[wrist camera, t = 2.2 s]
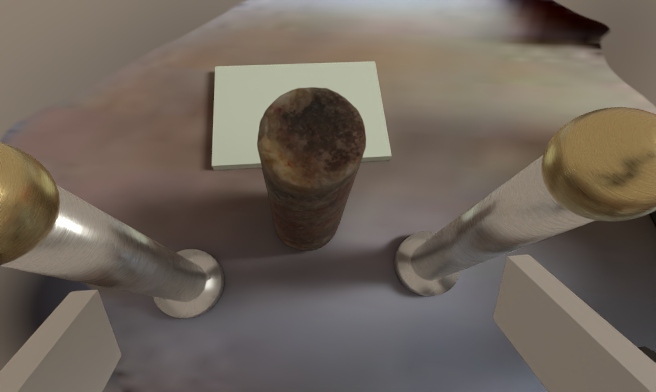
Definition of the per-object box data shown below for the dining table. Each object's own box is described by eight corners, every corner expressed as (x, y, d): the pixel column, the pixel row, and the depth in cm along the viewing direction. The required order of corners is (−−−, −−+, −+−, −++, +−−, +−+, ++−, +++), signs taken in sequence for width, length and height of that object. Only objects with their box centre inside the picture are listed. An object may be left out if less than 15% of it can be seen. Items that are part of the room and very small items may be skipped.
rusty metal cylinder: (348, 207, 41) (382, 106, 22) (326, 263, 38) (343, 203, 20) (290, 184, 42) (276, 68, 23) (264, 238, 39) (224, 156, 20)
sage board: (217, 72, 47) (215, 66, 46) (373, 67, 49) (374, 61, 48) (214, 170, 42) (211, 165, 41) (389, 160, 43) (391, 155, 42)
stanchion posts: (160, 254, 38) (-173, 89, 12) (447, 232, 40) (701, 59, 14) (154, 321, 35) (-288, 303, 9) (460, 293, 38) (798, 217, 12)
